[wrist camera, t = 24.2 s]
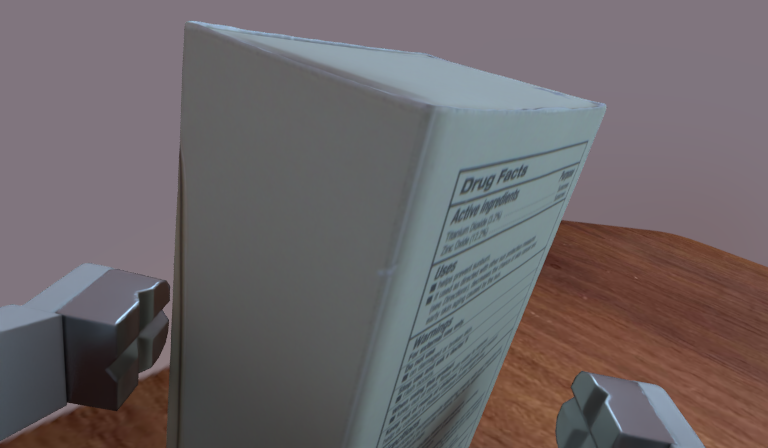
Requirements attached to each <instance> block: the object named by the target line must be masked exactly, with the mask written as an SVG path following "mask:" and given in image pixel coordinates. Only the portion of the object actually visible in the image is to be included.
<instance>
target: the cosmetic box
mask: <svg viewBox="0 0 768 448" xmlns="http://www.w3.org/2000/svg"><path fill="white" fill-rule="evenodd" d="M605 111H606V104H604V103H598V102H593V101H589V100H585V99H582V98H578V97H574V96H571V95H567V94H564V93H560V92H556V91H553V90H550V89H546V88H543V87H539V86H535V85H532V84H528V83H524V82H521V81H517V80H514V79H510V78H506V77H503V76H499V75H496V74H492V73H488V72H485V71H481V70H477V69H475V68H471V67H468V66H464V65H460V64H457V63H454V62H450V61H448V60H445V59H441V58H438V57H436V56H432V55H429V54H426V53H417V52H416V53H411V52H405V51H398V50H389V49H383V48H372V47H366V46H359V45H351V44H346V43H334V42H328V41H322V40H317V39H312V40H311V39H305V38H298V37H292V36H288V35H282V34H271V33H263V32H256V31H249V30H243V29H238V28H235V27H230V26H224V25H215V24H208V23H203V22H195V21H188V22H186V23H185V29H184V51H183V69H182V98H181V130H180V154H179V173H178V197H177V215H176V235H175V256H174V282H173V283H174V284H173V309H172V328H171V356H170V375H169V395H168V421H167V445H166V448H468V447H469V445H470V443H471V440H472V438H473V435H474V433H475V430H476V428H477V426H478V423H479V421H480V418H481V416H482V413H483V411H484V408H485V406H486V403H487V401H488V399H489V396H490V394H491V391H492V389H493V386H494V384H495V381H496V379H497V376H498V374H499V371H500V369H501V366H502V364H503V361H504V359H505V356H506V354H507V352H508V349H509V347H510V344H511V342H512V339H513V337H514V335H515V332H516V330H517V327H518V325H519V322H520V320H521V317H522V315H523V313H524V310H525V308H526V305H527V303H528V300H529V298H530V295H531V293H532V290H533V288H534V286H535V283H536V281H537V278H538V276H539V273H540V271H541V268H542V266H543V263H544V261H545V259H546V256H547V254H548V251H549V249H550V247H551V244H552V242H553V239H554V237H555V234H556V232H557V229H558V227H559V224H560V222H561V219H562V216H563V214H564V212H565V209H566V207H567V205H568V202H569V199H570V197H571V195H572V192H573V190H574V187H575V185H576V183H577V180H578V178H579V175H580V173H581V171H582V168H583V166H584V163H585V161H586V158H587V156H588V153H589V151H590V148H591V146H592V143H593V141H594V138H595V136H596V133H597V131H598V128H599V126H600V124H601V121H602V119H603V116H604V114H605Z"/></svg>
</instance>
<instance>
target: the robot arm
mask: <svg viewBox="0 0 768 448" xmlns="http://www.w3.org/2000/svg"><path fill="white" fill-rule="evenodd" d="M169 301H170V285H169V284H168V282H167V281H166V280H161V279H157V278H153V277H149V276H145V275H141V274H136V273H132V272H128V271H124V270H120V269H114V268H111V267H107V266H102V265H97V264H92V263H86V264H81V265H80V266H78V267H77V268H76V269H74V270H73V271H71V272H70V273H69V274H67V275H66V276H64V277H63V278H61V279H60V280H58V281H57V282H55V283H54V284H53V285H51V286H50V287H48V288H47V289H45V290H44V291H42V292H41V293H40V294H38V295H37V296H35V297H34V298H32V299H31V300H30V301H28V302H27V303H25V304H24V305H22V306H19V305H14V304H11V305H8V306H3V307H0V441H1V440H3V439H5V438H7V437H9V436H11V435H12V434H14V433H16V432H18V431H20V430H22V429H23V428H25V427H27V426H29V425H31V424H33V423H35V422H37V421H38V420H40V419H42V418H44V417H46V416H47V415H50V414H51V413H53V412H55V411H57V410H58V409H61V408H63V407H64V406H66V405H67V403H73V404H78V405H84V406H90V407H95V408H101V409H107V410H112V411H118V409H119V408H120V407H121V406H122V404H123V403H124V402H125V401H126V399H127V398H128V397H129V396H130V394H131V393H132V392H133V390H134V389H135V388H136V387H137V385H138V373H140V372H143V371H145V370H147V369H149V368H151V367H152V366H153V365H154V363H155V362H156V361H157V359H158V358H159V356H160V354H161V352H162V349H163V347H164V345H165V343H166V338H167V334H168V326H169V319H168V318H167V316H166V315H165V313H164V312H163V310H162V309H163V308H164V307H165V305H166V304H167V303H168V302H169ZM571 389H572V392H573V395H574V397H573V398H572V399H570V400H568V401H567V402H565V403H563V404H562V406H561V409H560V411H559V414H558V416H557V421H556V430H555V432H556V441H557V445H558V448H705V446H704V445H703V443H702V442H701V440H700V439H699V438H698V436H697V435H696V433H695V432H694V431H693V429H692V428H691V426H690V425H689V424H688V422H687V421H686V419H685V418H684V417H683V415H682V414H681V412H680V411H679V410H678V408H677V407H676V405H675V404H674V403H673V401H672V400H671V398H670V397H669V395H668V394H667V393H666V391H665V390H664V389H662V388H661V387H659V386H658V385H654V384H649V383H643V382H638V381H629V380H624V379H619V378H614V377H609V376H604V375H599V374H594V373H589V372H584V371H581V372H580V373H579V374H578V375H577V376H576V377H575V379H574V381H573V383H572V385H571Z"/></svg>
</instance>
